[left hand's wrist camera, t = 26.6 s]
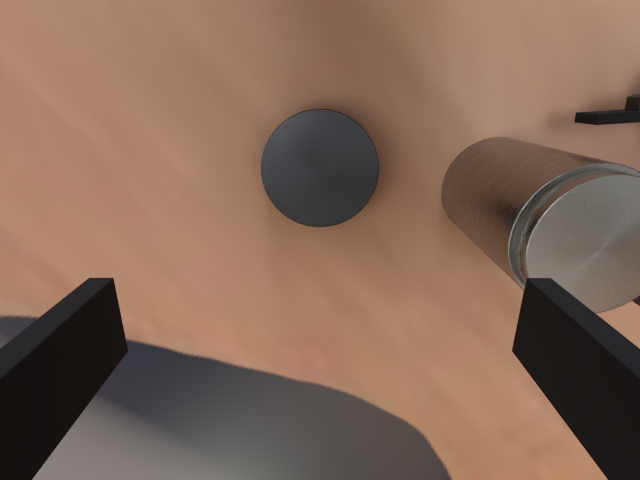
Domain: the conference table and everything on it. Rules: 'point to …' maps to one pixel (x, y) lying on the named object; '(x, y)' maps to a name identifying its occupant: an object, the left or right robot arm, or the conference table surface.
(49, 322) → the left robot arm
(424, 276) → the conference table surface
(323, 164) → the lid
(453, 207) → the jar
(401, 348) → the conference table surface
